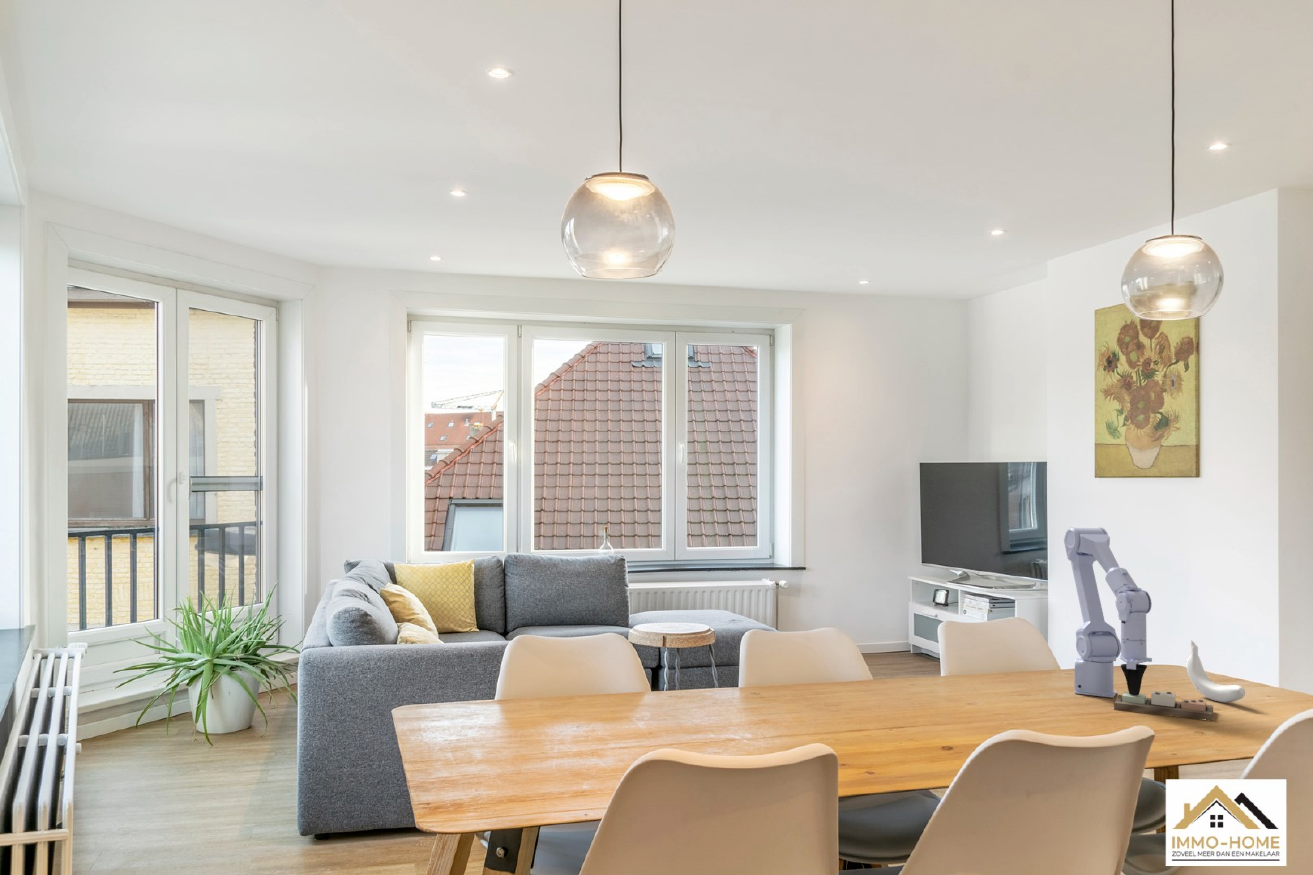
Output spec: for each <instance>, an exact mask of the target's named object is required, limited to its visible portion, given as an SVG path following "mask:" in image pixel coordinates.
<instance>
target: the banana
mask: <svg viewBox="0 0 1313 875" xmlns="http://www.w3.org/2000/svg"><path fill="white" fill-rule="evenodd" d="M1190 646H1191V654H1190V655H1189V656H1188V658H1187V659H1186V664H1185V666H1186V671H1187V675H1188V678H1189V679H1190V682H1191V684H1192V685H1193V686H1194V688H1195V689H1196V690H1197V691H1198V692H1199V693H1200V694H1201V695H1203V696H1204V697H1205V698H1207V699H1209V700H1212V701H1213V700H1214V702H1217V701H1218V702H1219V703H1232V702H1236V701H1239V700H1242V699H1243V698H1244V697H1245V696H1246V690H1245V688H1243V687H1242V686H1241V685H1238V684H1233V685H1232V684H1231V685H1224V684H1223V685H1222V684H1219V683H1216V682H1214V681H1213V680H1212V679H1210V677H1209V676H1207V673H1206V672H1205V669H1204V667H1203V663H1202V661H1201V658H1200V656H1199V651H1198V650H1199V646H1197V644H1196V643H1195V642H1194V641H1193V640H1190ZM1218 702H1217V703H1218Z"/></svg>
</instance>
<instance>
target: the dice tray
mask: <svg viewBox="0 0 1313 875" xmlns="http://www.w3.org/2000/svg"><path fill="white" fill-rule="evenodd" d="M1122 695H1123V694H1118V695H1117V697H1116V698H1115V701H1114V702H1113V710H1116V711H1124V710H1127V711H1126V712H1132V711H1134V713H1140V712H1141V713H1142V714H1150V715H1158V716H1165V715H1172V716H1171V717H1174V716H1178V717H1177V718H1182V717H1185V718H1184V719H1190V718H1192V720H1199V719H1206V720H1205V721H1207V720H1211V721H1210V722H1213V718H1214V705H1213V704H1206V711H1198V710H1189V709H1181V702H1182V701H1178V700H1177V701H1176V703H1175V707H1170V706H1162V705H1153V704H1151V697H1146V704H1138V703H1129V702H1122ZM1212 717H1213V718H1212Z"/></svg>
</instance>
